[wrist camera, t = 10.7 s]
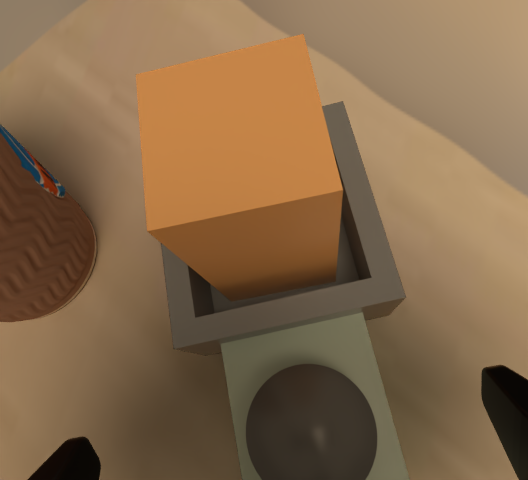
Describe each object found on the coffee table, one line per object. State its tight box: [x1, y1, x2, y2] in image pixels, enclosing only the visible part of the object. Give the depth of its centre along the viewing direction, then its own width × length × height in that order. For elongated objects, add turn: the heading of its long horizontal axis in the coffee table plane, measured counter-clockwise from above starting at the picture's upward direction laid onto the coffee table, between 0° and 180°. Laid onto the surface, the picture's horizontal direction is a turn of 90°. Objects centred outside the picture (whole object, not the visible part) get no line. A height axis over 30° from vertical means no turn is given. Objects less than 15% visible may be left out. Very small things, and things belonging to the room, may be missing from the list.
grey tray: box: [161, 101, 410, 480], centre depth 18 cm, size 16×9×5 cm, turn 12°
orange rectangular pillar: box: [136, 34, 343, 302], centre depth 16 cm, size 5×5×10 cm
